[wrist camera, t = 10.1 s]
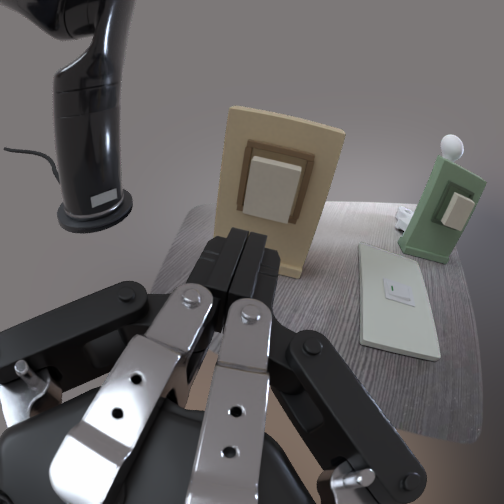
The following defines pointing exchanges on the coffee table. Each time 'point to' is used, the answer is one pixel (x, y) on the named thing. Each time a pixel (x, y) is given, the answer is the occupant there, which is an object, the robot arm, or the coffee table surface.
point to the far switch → (457, 212)
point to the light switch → (395, 305)
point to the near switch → (271, 189)
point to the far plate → (439, 211)
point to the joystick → (450, 151)
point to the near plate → (284, 150)
